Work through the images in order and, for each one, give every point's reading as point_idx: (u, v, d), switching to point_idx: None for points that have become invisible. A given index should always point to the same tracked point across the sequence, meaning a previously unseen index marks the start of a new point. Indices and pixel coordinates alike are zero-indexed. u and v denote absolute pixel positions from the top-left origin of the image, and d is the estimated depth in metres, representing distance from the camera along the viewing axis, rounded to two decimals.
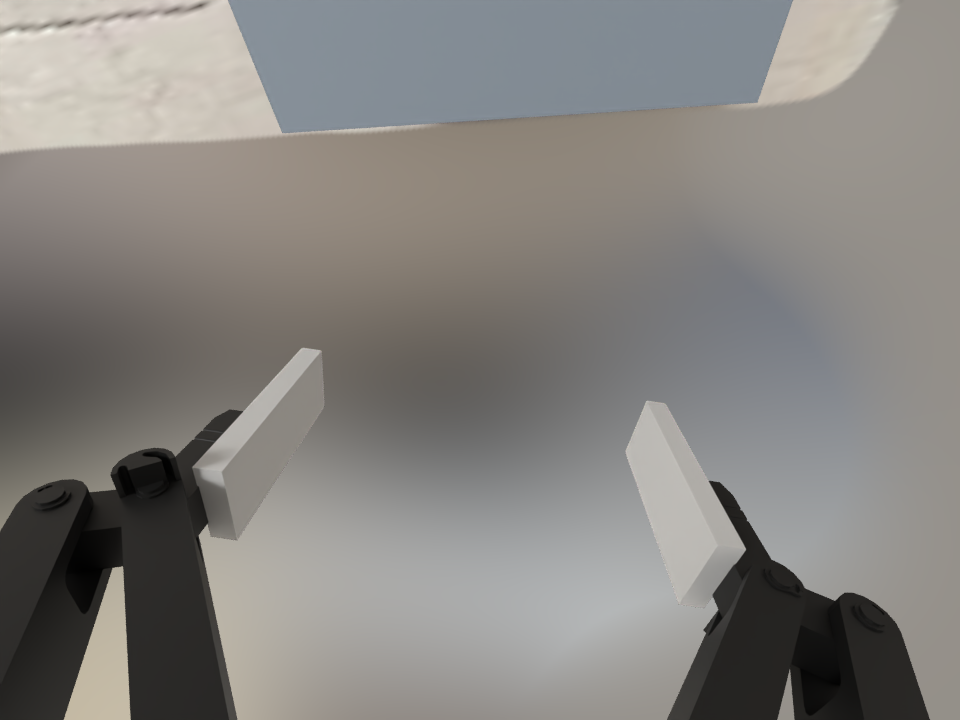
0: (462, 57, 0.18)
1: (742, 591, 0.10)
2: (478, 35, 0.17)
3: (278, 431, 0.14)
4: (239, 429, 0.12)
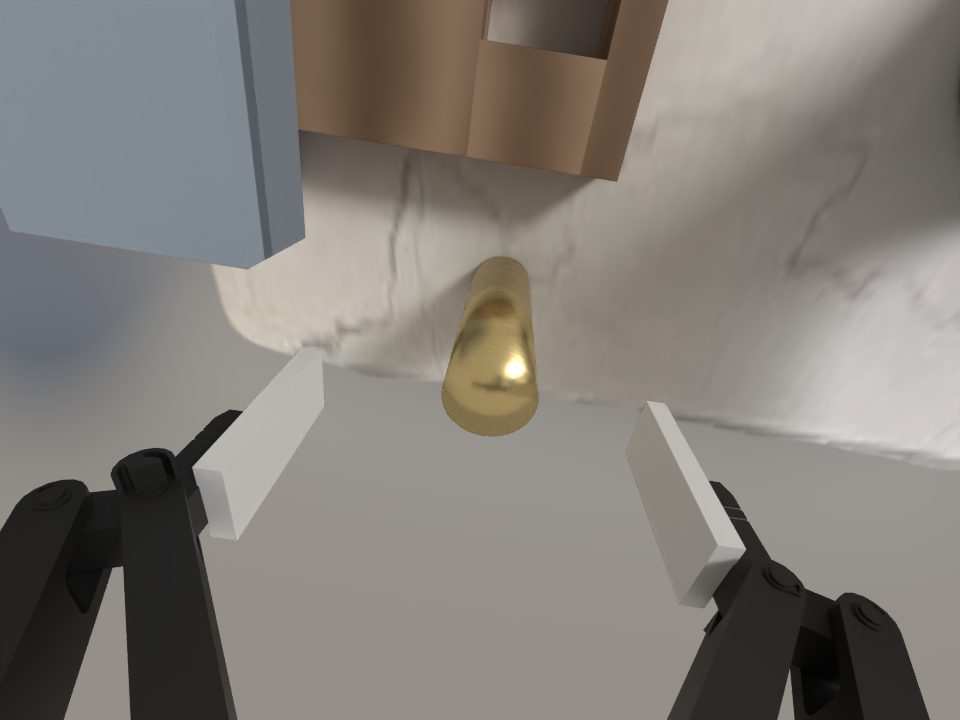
0: None
1: (742, 591, 0.10)
2: None
3: (278, 431, 0.14)
4: (239, 429, 0.12)
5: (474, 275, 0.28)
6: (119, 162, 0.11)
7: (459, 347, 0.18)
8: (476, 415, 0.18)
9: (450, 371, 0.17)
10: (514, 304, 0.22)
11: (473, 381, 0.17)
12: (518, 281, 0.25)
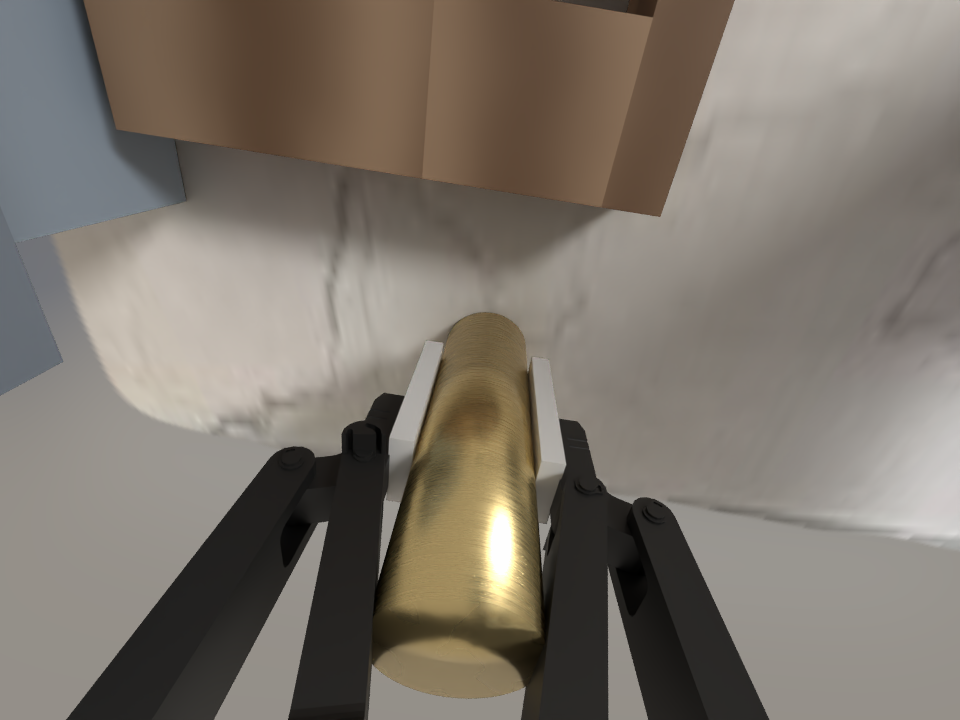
0: None
1: (563, 509, 0.11)
2: None
3: None
4: (410, 408, 0.14)
5: (448, 340, 0.20)
6: None
7: (401, 537, 0.10)
8: (431, 673, 0.10)
9: (375, 613, 0.09)
10: (503, 420, 0.13)
11: (420, 631, 0.09)
12: (510, 360, 0.17)
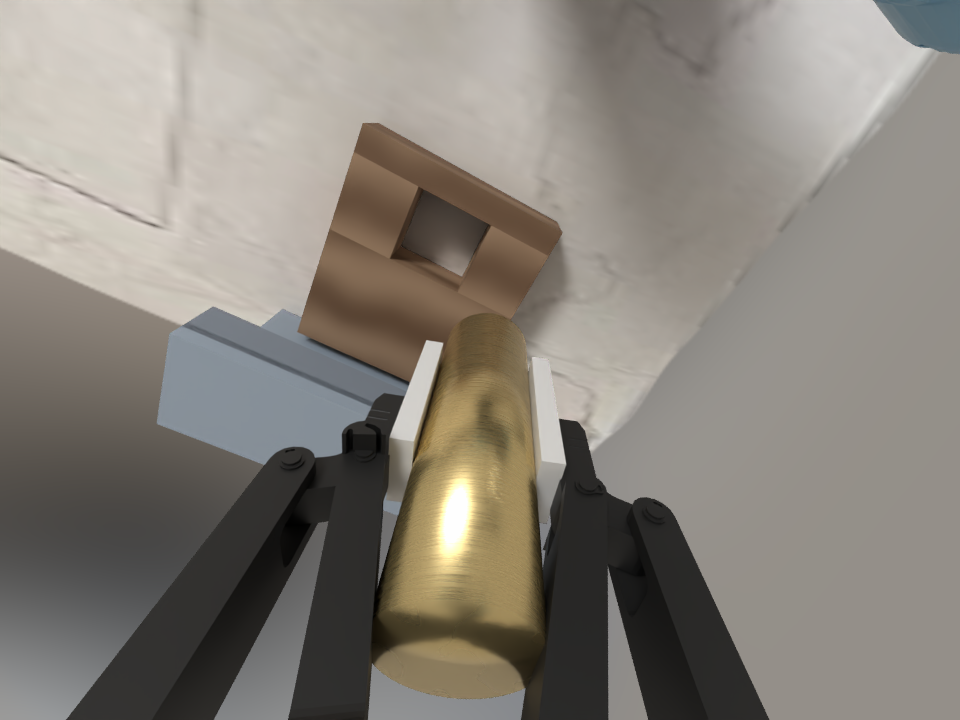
0: None
1: (563, 509, 0.11)
2: (325, 451, 0.27)
3: None
4: (410, 408, 0.14)
5: (448, 341, 0.20)
6: None
7: (402, 538, 0.10)
8: (432, 674, 0.10)
9: (377, 614, 0.09)
10: (503, 420, 0.13)
11: (421, 631, 0.09)
12: (510, 361, 0.17)
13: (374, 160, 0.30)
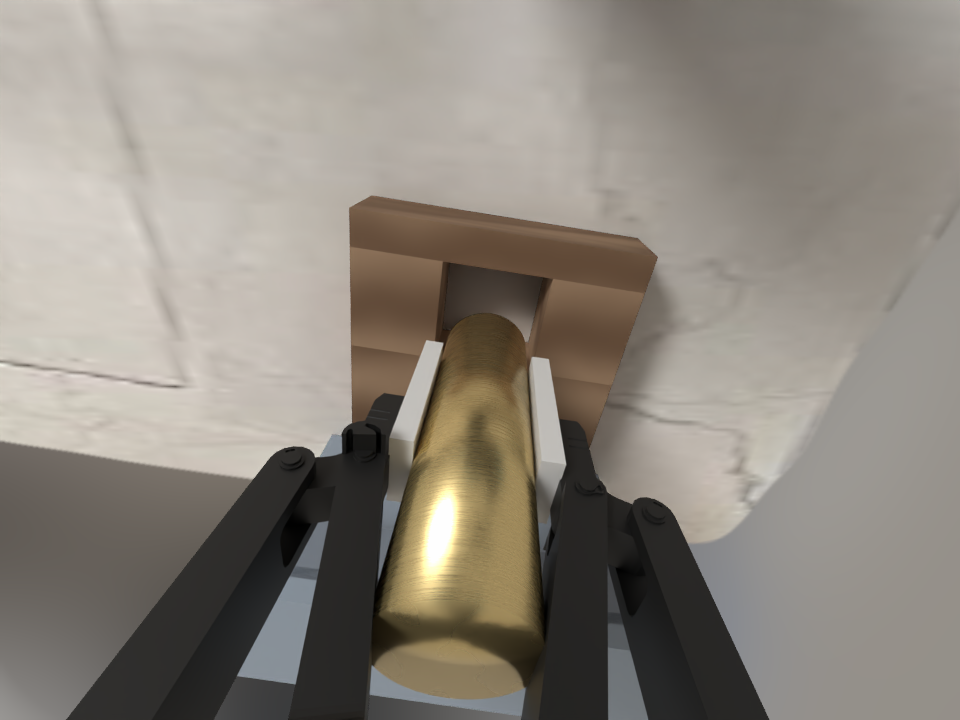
0: None
1: (563, 509, 0.11)
2: None
3: None
4: (410, 408, 0.14)
5: (448, 341, 0.20)
6: (627, 689, 0.19)
7: (401, 538, 0.10)
8: (431, 674, 0.10)
9: (375, 615, 0.09)
10: (503, 420, 0.13)
11: (420, 631, 0.09)
12: (510, 361, 0.17)
13: (378, 248, 0.22)
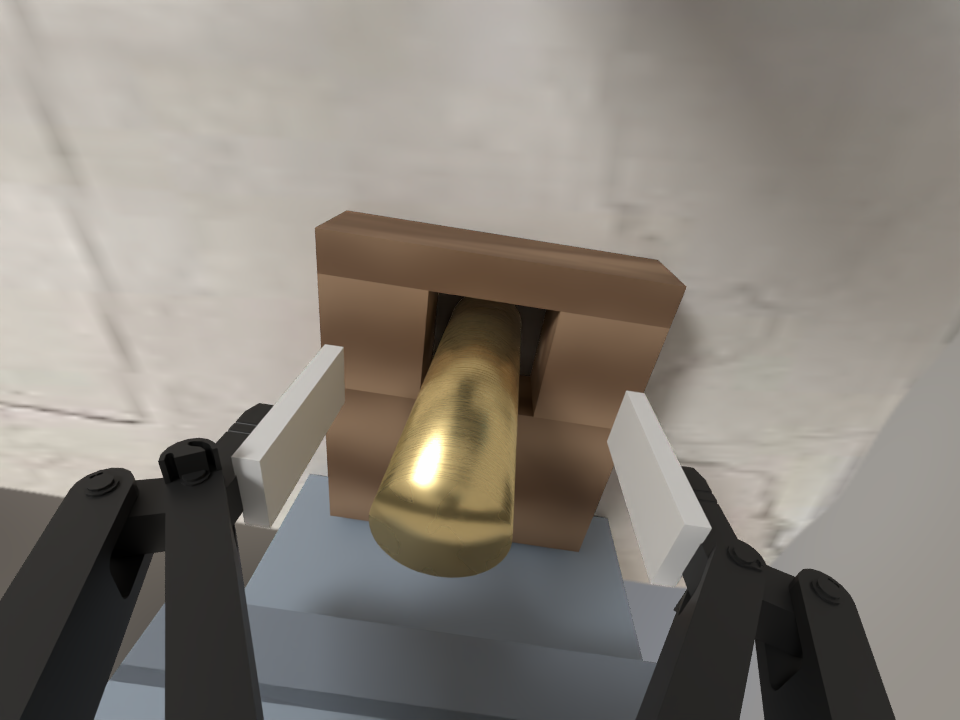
0: None
1: (708, 570, 0.10)
2: None
3: (306, 424, 0.14)
4: (272, 421, 0.12)
5: None
6: None
7: (401, 446, 0.13)
8: (422, 551, 0.12)
9: (379, 493, 0.11)
10: (491, 369, 0.16)
11: (413, 508, 0.11)
12: (503, 328, 0.19)
13: (351, 275, 0.19)
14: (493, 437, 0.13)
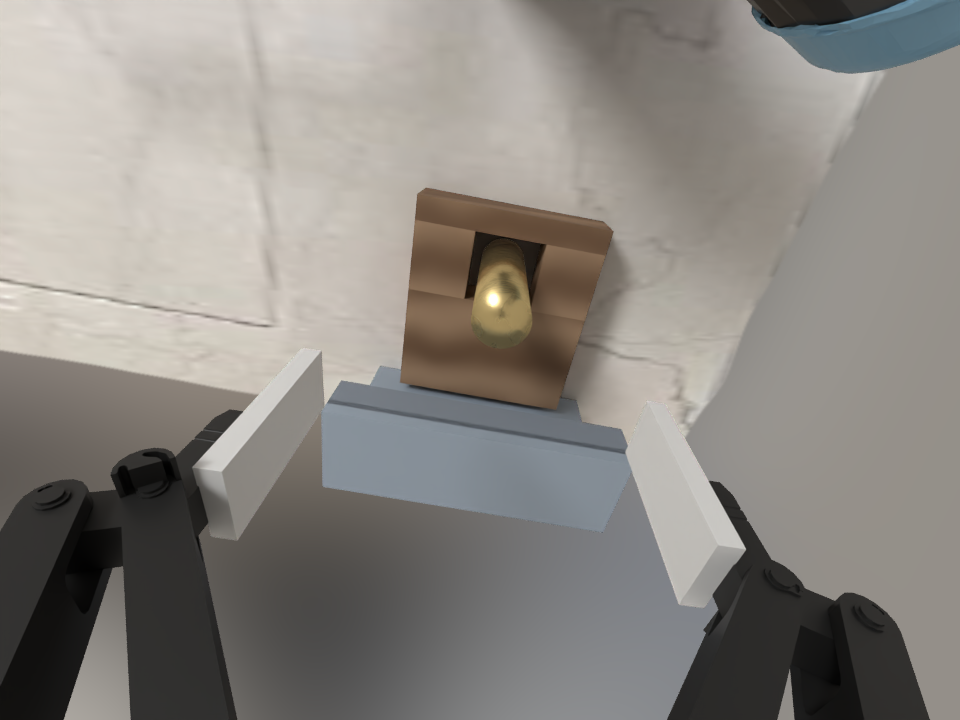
0: (449, 483, 0.31)
1: (742, 591, 0.10)
2: (460, 478, 0.31)
3: (278, 431, 0.14)
4: (239, 429, 0.12)
5: (484, 251, 0.38)
6: (587, 491, 0.31)
7: (481, 290, 0.28)
8: (492, 333, 0.28)
9: (477, 303, 0.27)
10: (515, 267, 0.32)
11: (491, 309, 0.27)
12: (517, 255, 0.35)
13: (433, 221, 0.34)
14: (521, 287, 0.29)
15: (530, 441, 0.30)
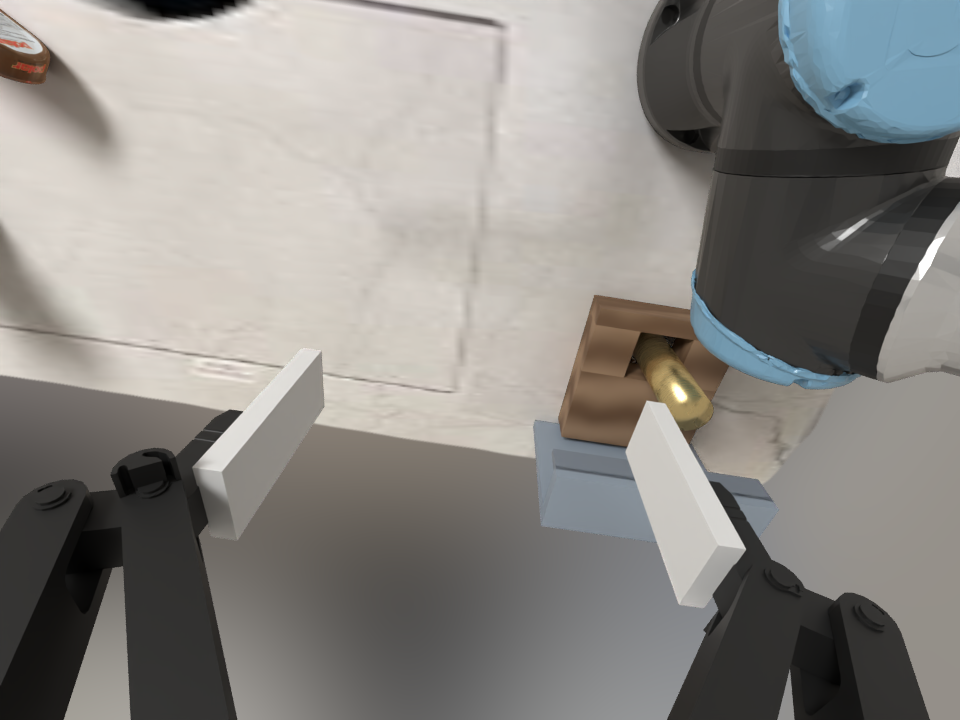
0: (637, 523, 0.43)
1: (742, 591, 0.10)
2: (647, 519, 0.43)
3: (278, 431, 0.14)
4: (239, 429, 0.12)
5: None
6: None
7: (671, 390, 0.40)
8: (682, 421, 0.40)
9: (675, 402, 0.39)
10: (681, 364, 0.43)
11: (685, 406, 0.39)
12: (670, 347, 0.47)
13: (609, 325, 0.46)
14: None
15: None
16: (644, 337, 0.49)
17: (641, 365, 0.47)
